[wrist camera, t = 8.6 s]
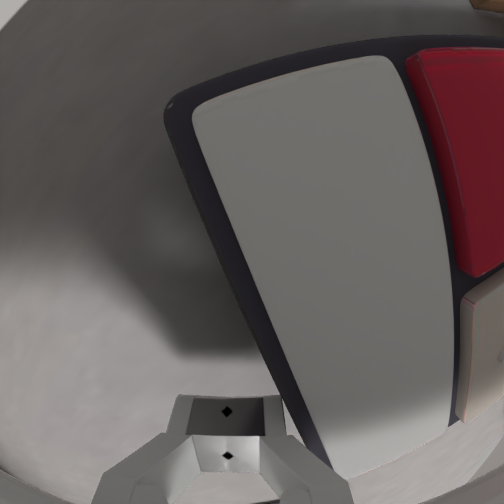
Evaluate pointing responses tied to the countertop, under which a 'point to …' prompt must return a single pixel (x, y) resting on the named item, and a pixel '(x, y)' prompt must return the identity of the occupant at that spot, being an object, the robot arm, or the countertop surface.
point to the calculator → (361, 231)
